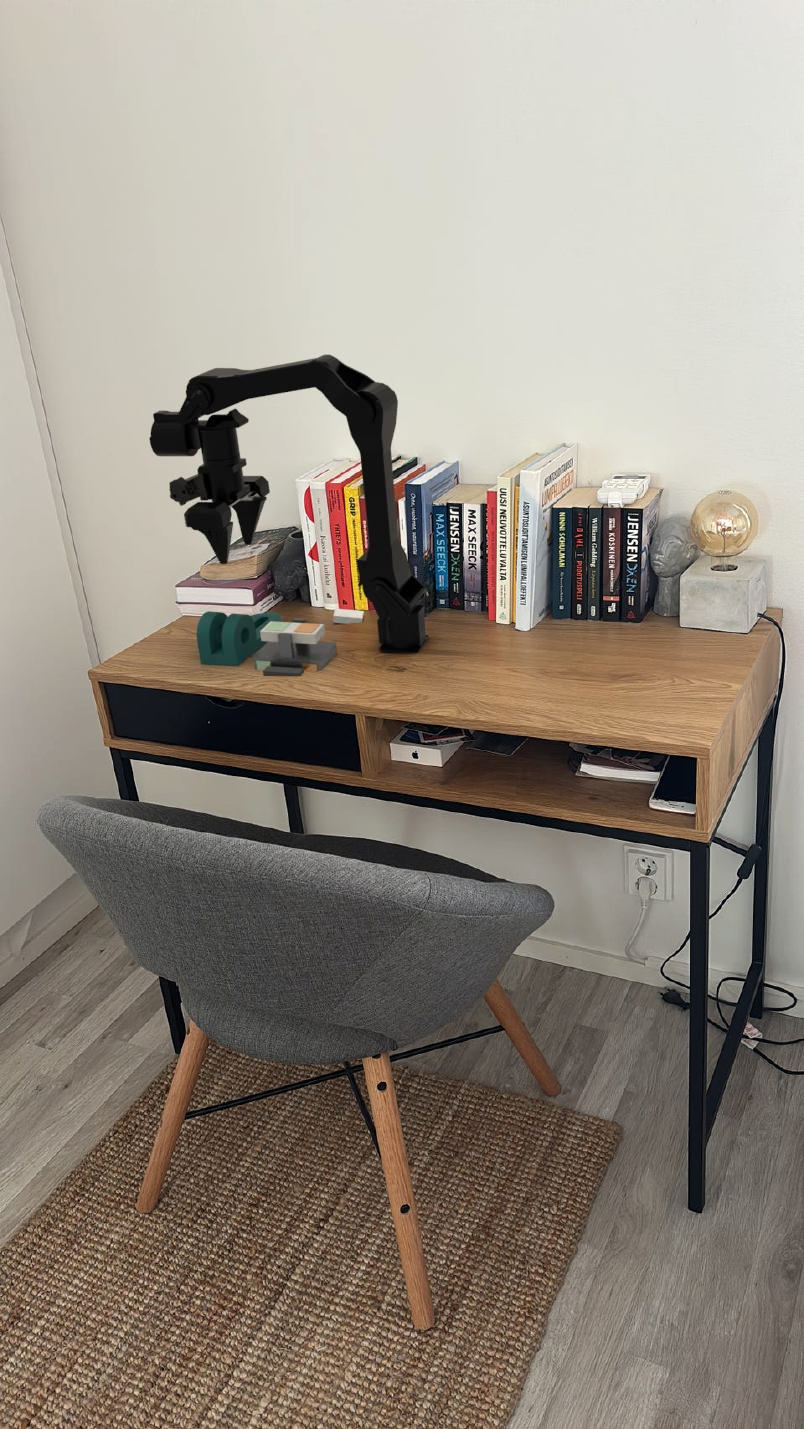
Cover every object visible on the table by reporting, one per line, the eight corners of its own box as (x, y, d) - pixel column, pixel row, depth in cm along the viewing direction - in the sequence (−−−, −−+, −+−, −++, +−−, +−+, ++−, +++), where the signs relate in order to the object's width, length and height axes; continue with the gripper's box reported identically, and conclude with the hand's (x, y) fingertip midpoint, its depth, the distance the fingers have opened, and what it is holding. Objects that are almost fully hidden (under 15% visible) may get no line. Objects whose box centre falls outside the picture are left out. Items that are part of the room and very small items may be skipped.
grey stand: (337, 659, 181) (333, 619, 178) (321, 679, 175) (316, 638, 172) (273, 655, 184) (268, 616, 181) (255, 674, 178) (249, 634, 175)
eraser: (362, 618, 193) (363, 611, 196) (333, 615, 193) (335, 608, 196) (361, 625, 193) (363, 618, 197) (332, 622, 193) (334, 615, 197)
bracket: (238, 670, 181) (231, 624, 177) (201, 666, 183) (193, 620, 180) (290, 626, 196) (284, 583, 192) (255, 623, 198) (249, 580, 194)
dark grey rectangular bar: (305, 679, 176) (303, 668, 175) (300, 684, 174) (299, 673, 173) (268, 676, 177) (267, 666, 177) (264, 681, 176) (262, 671, 175)
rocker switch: (326, 632, 178) (325, 622, 178) (314, 645, 174) (313, 634, 173) (272, 629, 181) (271, 619, 180) (260, 642, 177) (258, 631, 176)
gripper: (201, 441, 186) (216, 534, 193) (144, 472, 170) (163, 573, 177) (264, 440, 182) (277, 535, 189) (212, 472, 167) (228, 575, 174)
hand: (236, 553), depth 182 cm, fingers open, 9 cm apart
